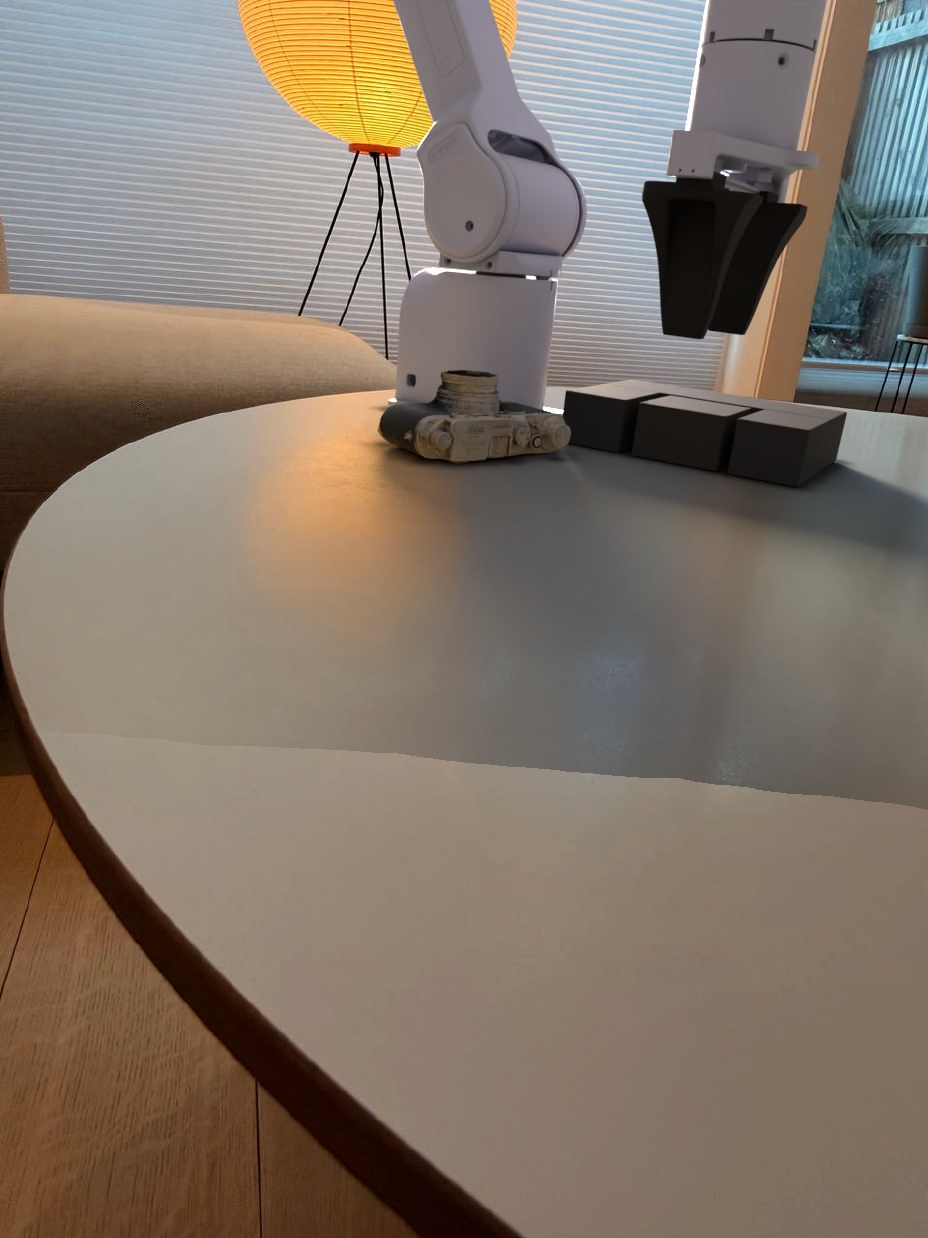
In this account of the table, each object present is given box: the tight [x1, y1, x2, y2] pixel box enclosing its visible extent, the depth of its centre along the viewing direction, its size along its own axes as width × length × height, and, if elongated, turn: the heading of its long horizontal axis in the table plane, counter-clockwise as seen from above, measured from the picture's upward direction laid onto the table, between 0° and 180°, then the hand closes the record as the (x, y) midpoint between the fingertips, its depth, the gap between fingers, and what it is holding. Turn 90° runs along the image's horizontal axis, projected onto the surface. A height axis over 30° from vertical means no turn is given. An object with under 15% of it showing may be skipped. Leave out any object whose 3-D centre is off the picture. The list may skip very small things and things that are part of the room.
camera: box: [377, 370, 571, 464], centre depth 50 cm, size 5×10×4 cm, turn 124°
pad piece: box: [631, 395, 751, 472], centre depth 54 cm, size 5×5×3 cm
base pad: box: [562, 378, 848, 488], centre depth 56 cm, size 14×10×3 cm
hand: (706, 334), depth 52 cm, fingers open, 7 cm apart
